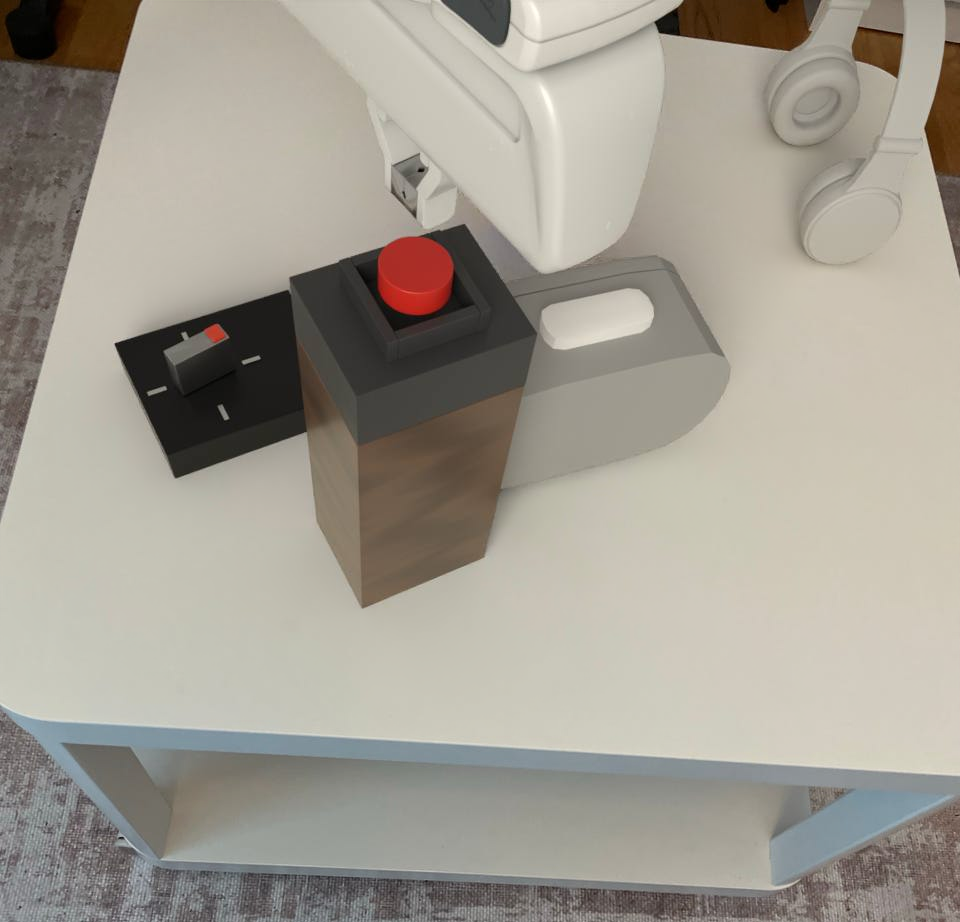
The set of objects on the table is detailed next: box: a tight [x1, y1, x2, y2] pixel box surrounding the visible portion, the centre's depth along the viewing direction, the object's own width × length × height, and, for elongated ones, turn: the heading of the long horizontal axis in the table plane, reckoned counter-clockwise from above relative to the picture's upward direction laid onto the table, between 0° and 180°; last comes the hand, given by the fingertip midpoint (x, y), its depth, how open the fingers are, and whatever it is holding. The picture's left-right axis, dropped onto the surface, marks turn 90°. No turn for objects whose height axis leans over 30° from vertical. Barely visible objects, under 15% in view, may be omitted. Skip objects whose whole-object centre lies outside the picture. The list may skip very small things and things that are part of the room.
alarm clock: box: [500, 254, 732, 490], centre depth 67 cm, size 21×10×13 cm, turn 110°
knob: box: [164, 324, 236, 396], centre depth 66 cm, size 4×2×4 cm, turn 128°
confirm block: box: [288, 223, 537, 446], centre depth 47 cm, size 10×8×5 cm
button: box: [378, 235, 454, 315], centre depth 44 cm, size 4×4×2 cm
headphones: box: [763, 0, 947, 265], centre depth 78 cm, size 20×8×19 cm, turn 4°
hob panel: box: [113, 289, 307, 479], centre depth 70 cm, size 14×11×3 cm
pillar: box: [296, 335, 525, 609], centre depth 58 cm, size 10×8×20 cm
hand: (419, 204), depth 40 cm, fingers closed
